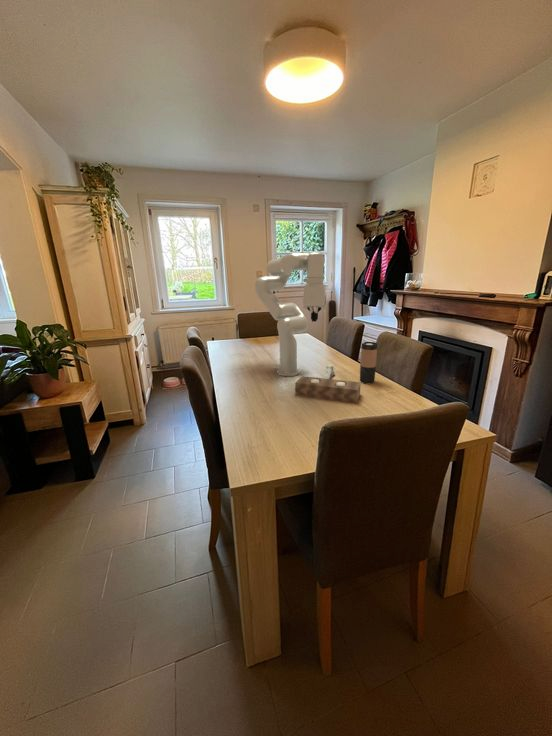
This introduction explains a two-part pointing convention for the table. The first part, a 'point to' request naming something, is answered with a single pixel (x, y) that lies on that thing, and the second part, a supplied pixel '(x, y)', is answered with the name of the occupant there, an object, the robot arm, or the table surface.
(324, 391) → the walnut block
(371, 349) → the travel mug
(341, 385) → the peg
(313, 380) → the peg
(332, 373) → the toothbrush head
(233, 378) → the table surface
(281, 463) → the table surface
